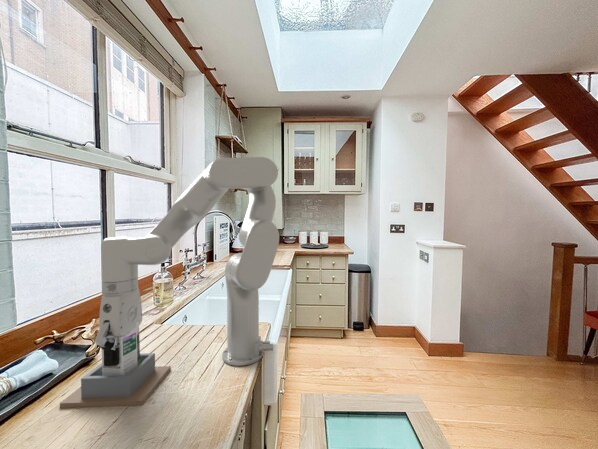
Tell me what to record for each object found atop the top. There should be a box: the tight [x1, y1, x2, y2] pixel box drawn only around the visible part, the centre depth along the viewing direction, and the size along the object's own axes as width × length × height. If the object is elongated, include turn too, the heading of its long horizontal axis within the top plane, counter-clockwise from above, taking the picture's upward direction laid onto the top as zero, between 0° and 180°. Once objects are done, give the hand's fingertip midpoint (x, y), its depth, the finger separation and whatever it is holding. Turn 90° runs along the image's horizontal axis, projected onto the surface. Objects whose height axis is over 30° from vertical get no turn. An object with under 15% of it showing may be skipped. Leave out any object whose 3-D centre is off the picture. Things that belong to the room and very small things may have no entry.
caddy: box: [59, 352, 172, 409], centre depth 65 cm, size 18×14×6 cm
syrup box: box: [101, 321, 141, 376], centre depth 65 cm, size 6×6×14 cm
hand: (121, 356), depth 65 cm, fingers open, 6 cm apart
